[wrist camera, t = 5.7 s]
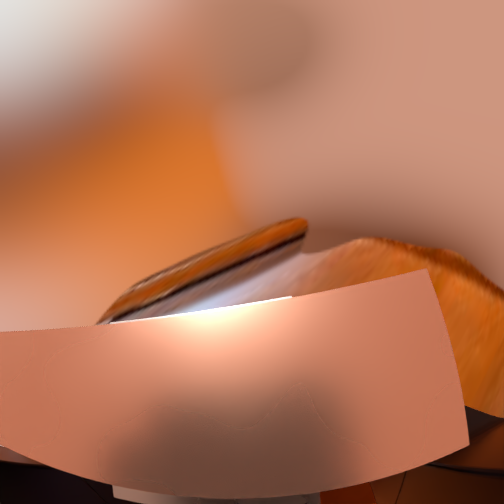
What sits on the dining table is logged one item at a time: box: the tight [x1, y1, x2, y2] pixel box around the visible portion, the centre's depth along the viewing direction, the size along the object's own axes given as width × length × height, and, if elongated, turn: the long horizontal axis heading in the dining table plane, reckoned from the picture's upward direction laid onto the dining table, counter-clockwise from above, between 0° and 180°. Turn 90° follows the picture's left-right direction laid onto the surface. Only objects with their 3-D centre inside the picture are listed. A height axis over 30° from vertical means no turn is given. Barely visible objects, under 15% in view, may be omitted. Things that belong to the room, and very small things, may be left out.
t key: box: [0, 268, 469, 504], centre depth 8 cm, size 6×3×14 cm, turn 96°
